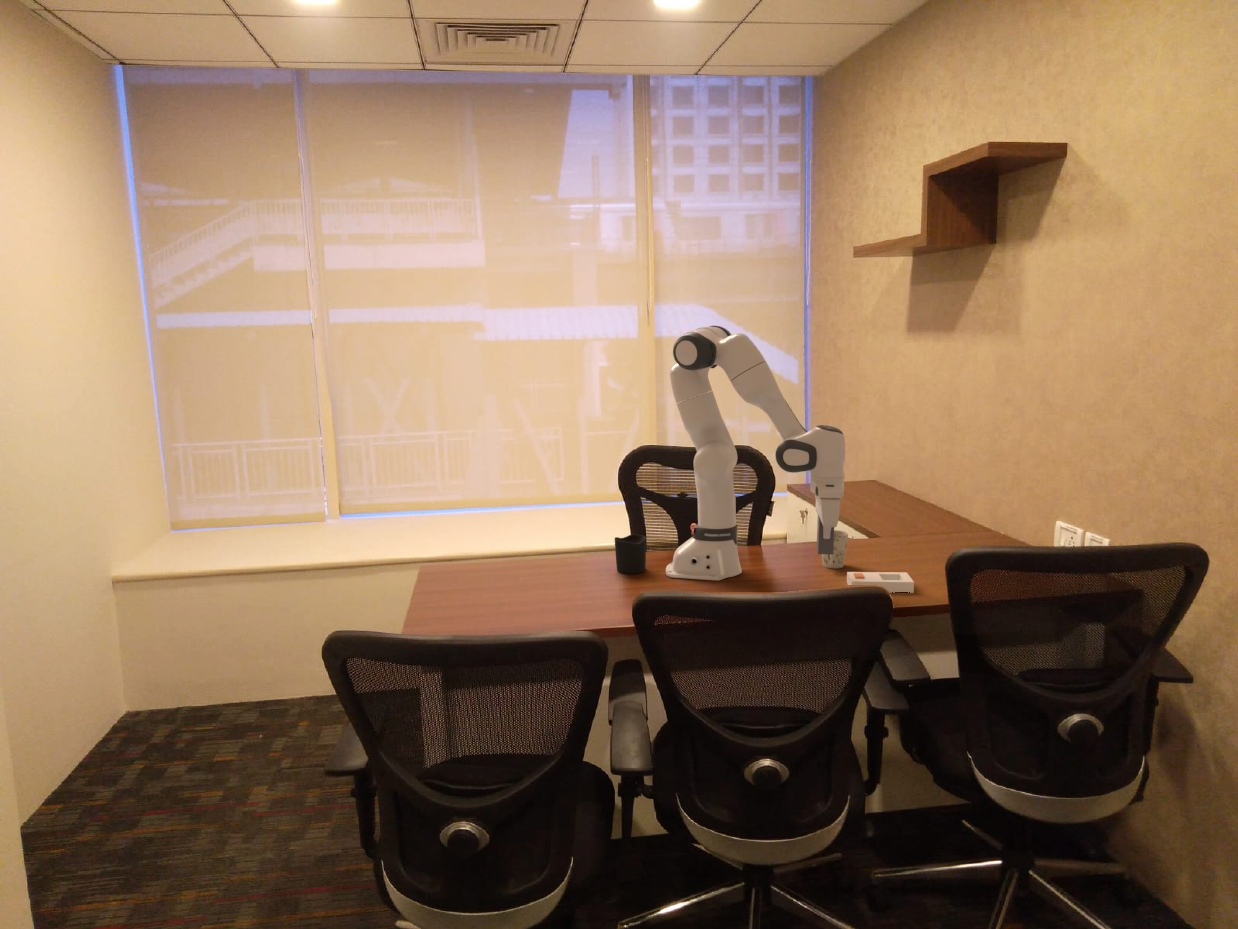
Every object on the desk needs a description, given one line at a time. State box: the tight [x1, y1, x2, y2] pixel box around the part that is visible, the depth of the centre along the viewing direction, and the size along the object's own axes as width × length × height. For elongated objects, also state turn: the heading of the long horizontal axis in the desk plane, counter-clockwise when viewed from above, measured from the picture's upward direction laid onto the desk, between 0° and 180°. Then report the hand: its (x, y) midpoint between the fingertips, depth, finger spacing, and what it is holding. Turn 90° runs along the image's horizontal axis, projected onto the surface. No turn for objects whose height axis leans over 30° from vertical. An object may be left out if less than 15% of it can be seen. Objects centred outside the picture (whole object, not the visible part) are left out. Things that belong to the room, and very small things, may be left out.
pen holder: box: [614, 534, 647, 575], centre depth 243 cm, size 9×9×10 cm
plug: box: [815, 514, 835, 555], centre depth 219 cm, size 4×4×10 cm
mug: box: [821, 529, 849, 569], centre depth 238 cm, size 8×13×10 cm, turn 164°
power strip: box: [846, 571, 915, 594], centre depth 219 cm, size 16×9×4 cm, turn 82°
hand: (825, 535), depth 219 cm, fingers closed on plug, 4 cm apart
